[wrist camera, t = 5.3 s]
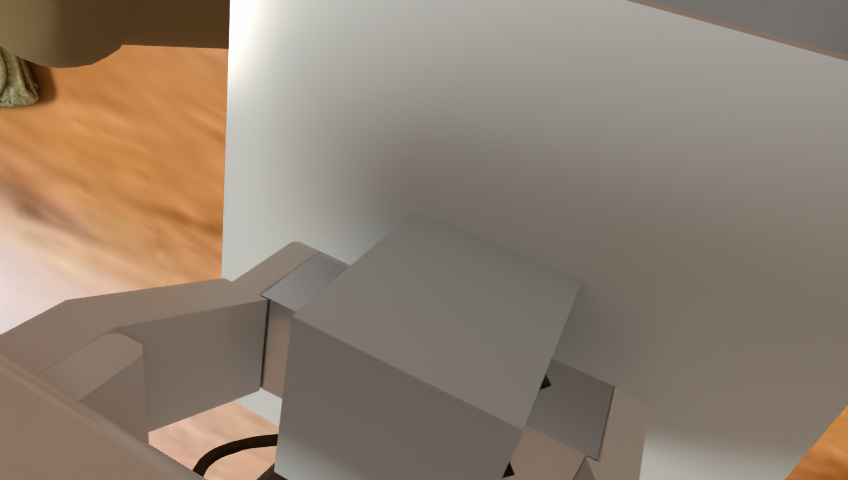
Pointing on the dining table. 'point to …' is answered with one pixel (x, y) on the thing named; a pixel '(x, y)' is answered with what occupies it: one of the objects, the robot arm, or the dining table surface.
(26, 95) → the washcloth
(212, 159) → the dining table surface
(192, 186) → the dining table surface
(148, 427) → the robot arm
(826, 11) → the mat
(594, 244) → the lid
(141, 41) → the cork
